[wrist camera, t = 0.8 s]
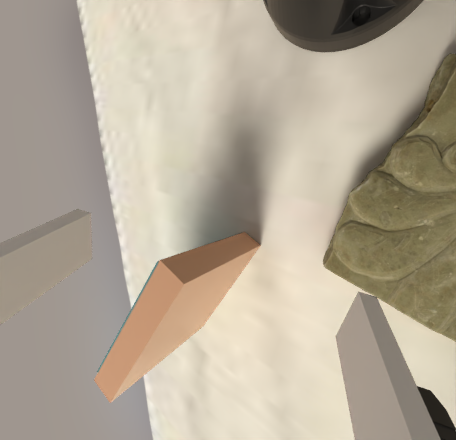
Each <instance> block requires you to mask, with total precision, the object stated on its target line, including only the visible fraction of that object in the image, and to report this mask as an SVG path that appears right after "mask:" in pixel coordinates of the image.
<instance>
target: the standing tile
mask: <svg viewBox="0 0 456 440" xmlns="http://www.w3.org/2000/svg"><path fill="white" fill-rule="evenodd" d="M260 246H261V245H260V244H259V243H257V242H256V241H255V240H254V239H253V238H251V237H250V236H249V235H248V234H246V233H245V232H243V233H240V234H237V235H234V236H231V237H228V238H225V239H222V240H219V241H216V242H213V243H210V244H207V245H204V246H201V247H198V248H195V249H192V250H189V251H186V252H183V253H180V254H177V255H174V256H171V257H168V258H165V259H162V260H160V261H158V262H157V263H156V265H155V267H154V269H153V270H152V272H151V274H150V276H149V278H148V280H147V281H146V283H145V285H144V287H143V289H142V291H141V292H140V294H139V296H138V298H137V300H136V302H135V303H134V305H133V307H132V309H131V311H130V313H129V314H128V316H127V318H126V320H125V322H124V323H123V325H122V327H121V329H120V331H119V333H118V335H117V336H116V338H115V340H114V342H113V344H112V345H111V347H110V349H109V351H108V353H107V355H106V356H105V358H104V360H103V362H102V364H101V365H100V368H99V369H98V371H97V372H98V374H97V376H96V377H95V380H94V381H95V382H96V383H97V385H98V386H99V388H100V389H101V391H102V392H103V393H104V395H105V396H106V398H107V399H108V400H109V402H110V403H111V402H112V401H113V400H115V399H116V398H117V397H118V396H119V395H120V394H122V393H123V392H124V391H125V390H127V389H128V388H129V387H130V386H132V385H133V384H134V383H135V382H136V381H138V380H139V379H140V378H141V377H142V376H144V375H145V374H146V373H147V372H149V371H150V370H151V369H152V368H153V367H155V366H156V365H157V364H158V363H159V362H161V361H162V360H163V359H164V358H165V357H167V356H168V355H169V354H170V353H172V352H173V351H174V350H175V349H176V348H178V347H179V346H180V345H181V344H182V343H184V342H185V341H186V340H187V339H189V338H190V337H191V336H192V335H193V334H195V333H196V332H197V331H198V330H199V329H201V328H202V327H203V326H204V324H205V323H206V321H207V320H208V319H209V317H210V316H211V314H212V313H213V312H214V310H215V309H216V307H217V306H218V305H219V303H220V302H221V300H222V299H223V298H224V296H225V295H226V293H227V292H228V291H229V289H230V288H231V286H232V285H233V284H234V282H235V281H236V279H237V278H238V277H239V275H240V274H241V272H242V271H243V270H244V268H245V267H246V265H247V264H248V263H249V261H250V260H251V258H252V257H253V256H254V254H255V253H256V251H257V250H258V249H259V247H260Z"/></svg>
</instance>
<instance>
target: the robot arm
mask: <svg viewBox="0 0 456 440" xmlns="http://www.w3.org/2000/svg"><path fill="white" fill-rule="evenodd" d="M263 1H264V4H265V6H266V9H267V11H268V13H269V15H270V17H271V18H272V20H273V22H274V24H275V26H276V27H277V29H278V30H279V31H280V33H281V34H282V35H283V36H284V37H285V38H286V39H287V40H289V41H290V42H291V43H293V44H295V45H296V46H298V47H301V48H303V49H307V50H310V51H316V52H335V51H342V50H347V49H350V48H354V47H357V46H360V45H362V44H365V43H367V42H369V41H371V40H373V39H375V38H377V37H379V36H381V35H382V34H384V33H386V32H387V31H389V30H390V29H392V28H393V27H395V26H396V25H397V24H399V23H400V22H401V21H402V20H404V19H405V18H406V17H407V16H408V15H409V14H410V13H411V12H413V11H414V10H415V9H416V8H417V7H418V6H419V4H420V3H421V2H422V1H423V0H263ZM91 237H92V236H91V213H89V212H85V211H82V210H79V209H76V210H74V211H72V212H70V213H68V214H65V215H63V216H61V217H58V218H56V219H54V220H52V221H49V222H47V223H45V224H43V225H40V226H38V227H36V228H34V229H31V230H29V231H27V232H25V233H23V234H20V235H18V236H16V237H13V238H11V239H9V240H7V241H4V242H2V243H0V325H1V324H3V323H4V322H5V321H7V320H8V319H9V318H11V317H12V316H14V315H15V314H16V313H18V312H19V311H20V310H22V309H23V308H25V307H26V306H27V305H29V304H30V303H32V302H33V301H34V300H36V299H37V298H38V297H40V296H41V295H42V294H44V293H45V292H47V291H48V290H50V289H51V288H52V287H53V286H55V285H56V284H58V283H59V282H61V281H62V280H63V279H65V278H66V277H68V276H69V275H70V274H72V273H73V272H74V271H76V270H77V269H78V268H80V267H81V266H83V265H84V264H85V263H87V262H88V261H89V260H91V259H92V238H91ZM336 341H337V347H338V352H339V357H340V363H341V368H342V373H343V379H344V384H345V389H346V395H347V400H348V405H349V411H350V416H351V421H352V427H353V432H354V437H355V440H456V428H455V426H454V424H453V422H452V420H451V418H450V417H449V415H448V413H447V411H446V409H445V408H444V407H443V405H442V404H441V403H440V402H439V400H438V399H437V398H436V397H435V395H434V394H433V393H432V392H431V391H430V390H427V389H424V388H421V387H418V386H416V384H415V381H414V379H413V377H412V375H411V372H410V370H409V368H408V366H407V364H406V361H405V359H404V357H403V355H402V353H401V350H400V348H399V346H398V344H397V341H396V339H395V337H394V335H393V333H392V330H391V328H390V326H389V324H388V321H387V319H386V317H385V315H384V313H383V310H382V308H381V306H380V304H379V301H378V299H377V297H375V296H371V295H368V294H365V293H361V292H358V293H357V295H356V297H355V299H354V301H353V303H352V305H351V307H350V309H349V311H348V313H347V315H346V317H345V319H344V321H343V323H342V325H341V327H340V329H339V331H338V333H337V335H336Z"/></svg>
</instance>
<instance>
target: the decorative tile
mask: <svg viewBox="0 0 456 440" xmlns="http://www.w3.org/2000/svg"><path fill="white" fill-rule="evenodd" d="M323 264H324V267H325V268H326V269H328V270H330V271H331V272H333V273H334V274H336V275H338V276H340V277H341V278H343V279H345V280H347V281H348V282H350V283H352V284H354V285H355V286H357V287H359V288H361V289H362V290H364V291H366V292H368V293H370V294H372V295H374V296H376V297H377V298H379V299H381V300H382V301H384V302H386V303H387V304H389V305H390V306H392V307H394V308H395V309H397V310H398V311H400V312H402V313H404V314H406V315H407V316H409V317H411V318H412V319H414V320H416V321H417V322H419V323H421V324H422V325H424V326H426V327H428V328H429V329H431V330H433V331H435V332H438V333H440V334H442V335H444V336H446V337H448V338H450V339H452V340H453V341H455V342H456V54H449V55H447V56H446V57H445V58H444V60H443V62H442V64H441V66H440V68H439V70H438V71H437V73H436V74H435V77H434V78H433V79H432V82H431V84H430V86H429V91H428V94H427V97H426V100H425V107H424V109H423V110H422V112H421V113H420V115H419V117H418V118H417V120H416V121H415V122H414V123H413V125H412V126H411V127H410V128H409V129H407V131H406V132H405V134H404V136H402V137H401V138H400V139H399V140H397V142H396V143H395V144H394V145H393V146H392V148H391V151H390V152H389V153H388V155H387V156H386V158H385V160H384V162H383V163H382V164H380V165H379V166H378V167H376V168H375V169H373V170H372V171H370V172H369V174H368V175H367V176H366V179H365V180H364V181H363V182H362V183H361V184H360V185H358V186H357V187H356V188H355V189H353V190H352V191H351V193H350V194H349V197H348V202H347V205H346V207H345V209H344V211H343V214H342V217H341V219H340V221H339V222H338V224H337V226H336V229H335V235H334V236H333V238H332V240H331V242H330V245H329V249H328V250H327V251H326V254H325V256H324V259H323Z"/></svg>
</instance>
